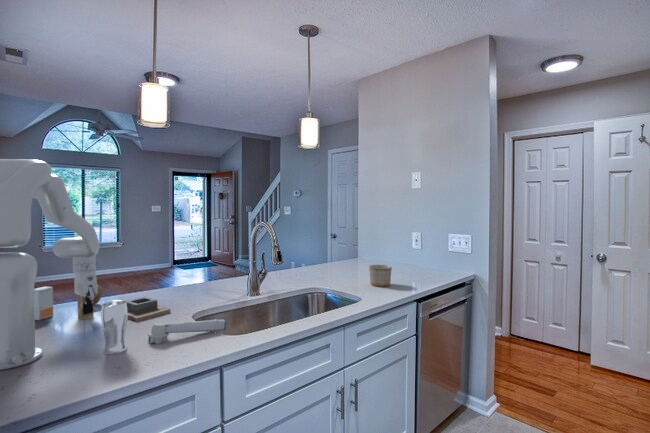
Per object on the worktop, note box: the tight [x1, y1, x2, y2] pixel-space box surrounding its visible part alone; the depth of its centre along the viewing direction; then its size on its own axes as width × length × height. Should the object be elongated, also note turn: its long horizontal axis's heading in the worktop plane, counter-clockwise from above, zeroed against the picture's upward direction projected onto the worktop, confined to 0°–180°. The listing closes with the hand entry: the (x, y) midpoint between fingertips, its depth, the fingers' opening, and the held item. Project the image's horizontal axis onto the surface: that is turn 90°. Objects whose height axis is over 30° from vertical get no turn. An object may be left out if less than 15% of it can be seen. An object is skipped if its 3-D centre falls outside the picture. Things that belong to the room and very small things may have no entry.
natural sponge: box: [93, 284, 104, 307], centre depth 153 cm, size 9×9×10 cm
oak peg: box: [76, 294, 94, 321], centre depth 138 cm, size 4×4×10 cm
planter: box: [368, 264, 393, 288], centre depth 194 cm, size 13×13×10 cm
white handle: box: [147, 318, 227, 345], centre depth 119 cm, size 5×7×25 cm
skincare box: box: [34, 285, 54, 321], centre depth 137 cm, size 6×4×12 cm
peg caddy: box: [126, 296, 171, 323], centre depth 144 cm, size 20×14×5 cm
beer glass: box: [100, 299, 129, 356], centre depth 107 cm, size 7×7×15 cm
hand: (85, 311), depth 138 cm, fingers closed on oak peg, 4 cm apart
